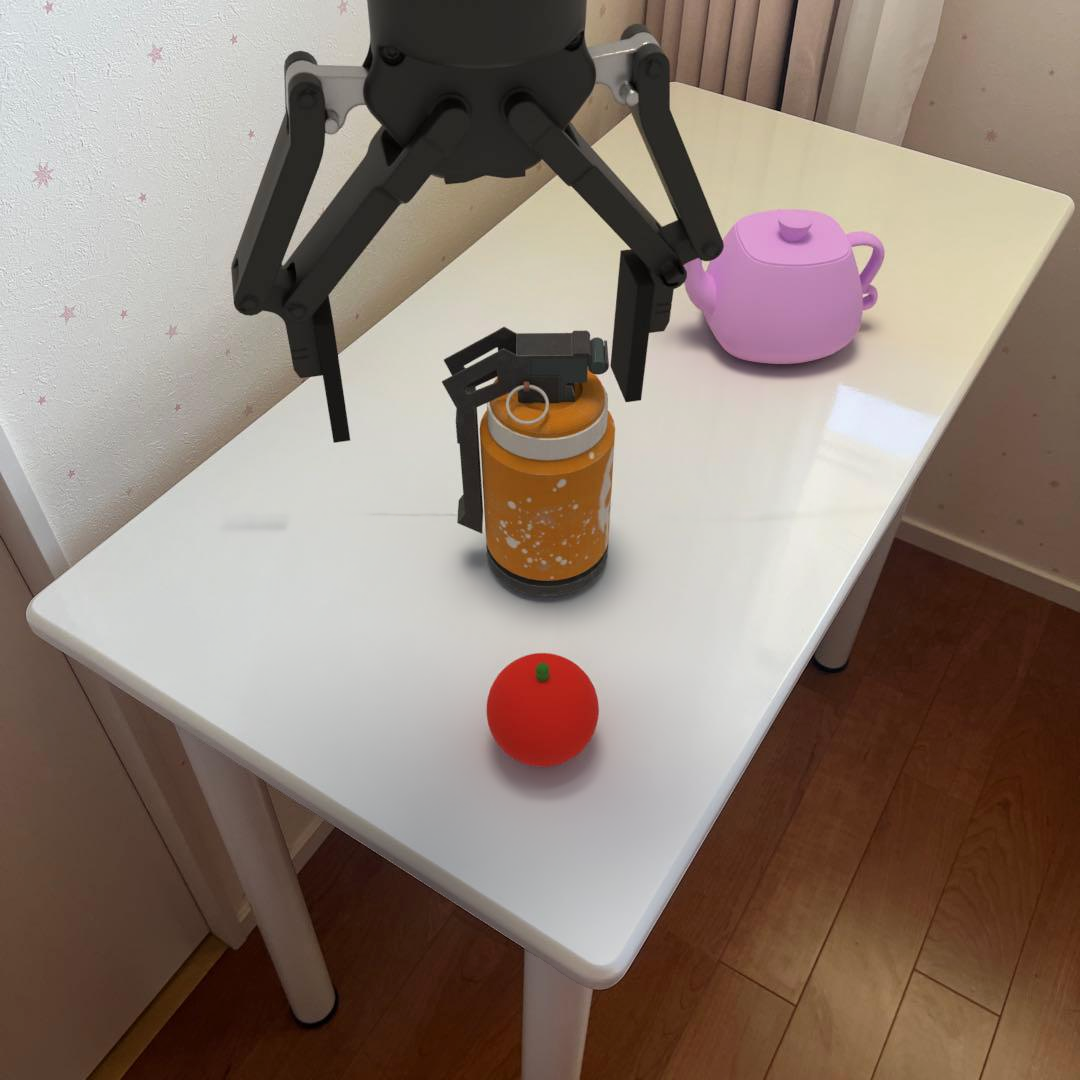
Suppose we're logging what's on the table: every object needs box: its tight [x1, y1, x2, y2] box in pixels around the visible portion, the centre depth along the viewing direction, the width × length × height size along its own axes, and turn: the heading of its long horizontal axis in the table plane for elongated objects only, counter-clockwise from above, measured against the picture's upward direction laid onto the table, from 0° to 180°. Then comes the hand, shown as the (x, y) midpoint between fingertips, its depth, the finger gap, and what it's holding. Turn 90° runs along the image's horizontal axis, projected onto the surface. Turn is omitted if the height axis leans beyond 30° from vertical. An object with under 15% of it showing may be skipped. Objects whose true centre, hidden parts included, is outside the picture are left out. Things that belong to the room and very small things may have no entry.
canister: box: [441, 326, 616, 597], centre depth 75 cm, size 9×11×20 cm
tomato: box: [486, 652, 600, 768], centre depth 68 cm, size 7×7×8 cm
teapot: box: [683, 208, 886, 365], centre depth 97 cm, size 20×13×12 cm, turn 96°
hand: (485, 402), depth 51 cm, fingers open, 13 cm apart
